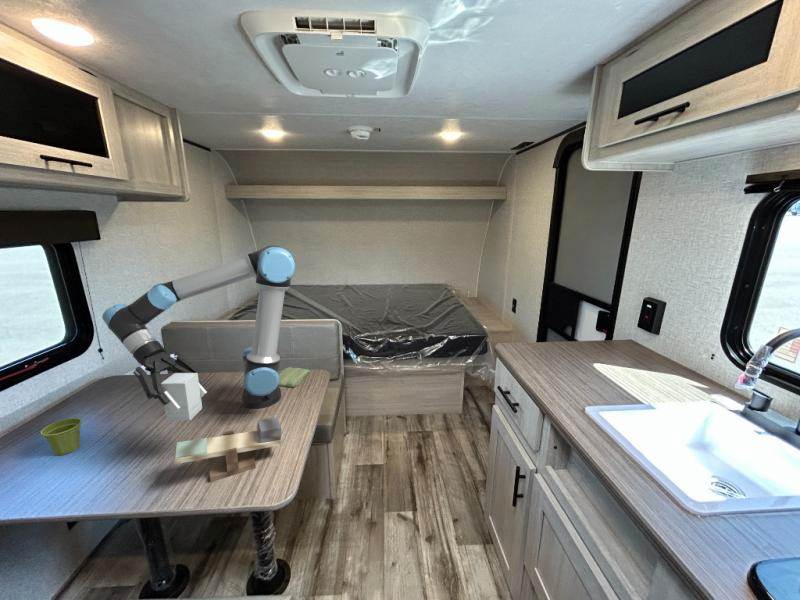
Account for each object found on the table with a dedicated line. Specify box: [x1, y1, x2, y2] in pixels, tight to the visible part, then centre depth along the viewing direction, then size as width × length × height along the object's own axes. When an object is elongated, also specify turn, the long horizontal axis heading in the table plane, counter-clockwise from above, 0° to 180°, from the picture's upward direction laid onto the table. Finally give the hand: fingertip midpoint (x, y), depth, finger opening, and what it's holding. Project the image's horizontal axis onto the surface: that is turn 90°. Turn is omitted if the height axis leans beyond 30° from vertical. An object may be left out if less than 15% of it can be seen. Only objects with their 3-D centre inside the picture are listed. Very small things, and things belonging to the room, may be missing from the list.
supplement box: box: [161, 372, 203, 422], centre depth 106 cm, size 7×7×13 cm
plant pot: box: [40, 417, 83, 456], centre depth 110 cm, size 9×9×9 cm
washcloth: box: [278, 366, 311, 389], centre depth 161 cm, size 13×18×3 cm
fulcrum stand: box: [208, 429, 256, 483], centre depth 104 cm, size 12×11×8 cm
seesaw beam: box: [173, 416, 283, 465], centre depth 103 cm, size 28×8×6 cm, turn 120°
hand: (191, 402), depth 105 cm, fingers closed on supplement box, 9 cm apart
